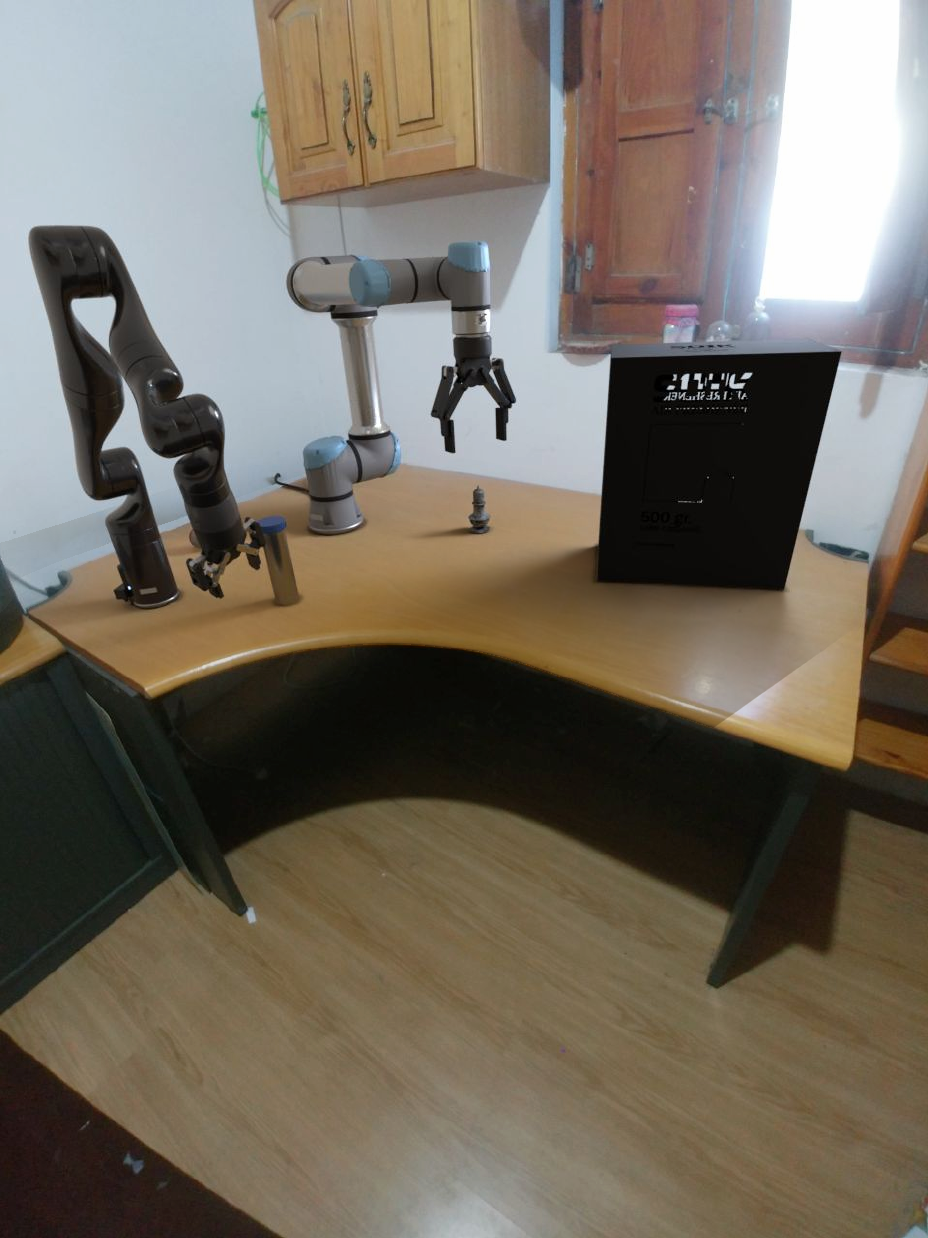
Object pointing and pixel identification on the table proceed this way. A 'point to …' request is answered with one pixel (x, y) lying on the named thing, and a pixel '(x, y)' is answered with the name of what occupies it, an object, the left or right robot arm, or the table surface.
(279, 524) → the lid
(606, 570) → the cardboard box
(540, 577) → the table surface
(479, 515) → the grey tall turned piece
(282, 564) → the bottle
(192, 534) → the eyeball
